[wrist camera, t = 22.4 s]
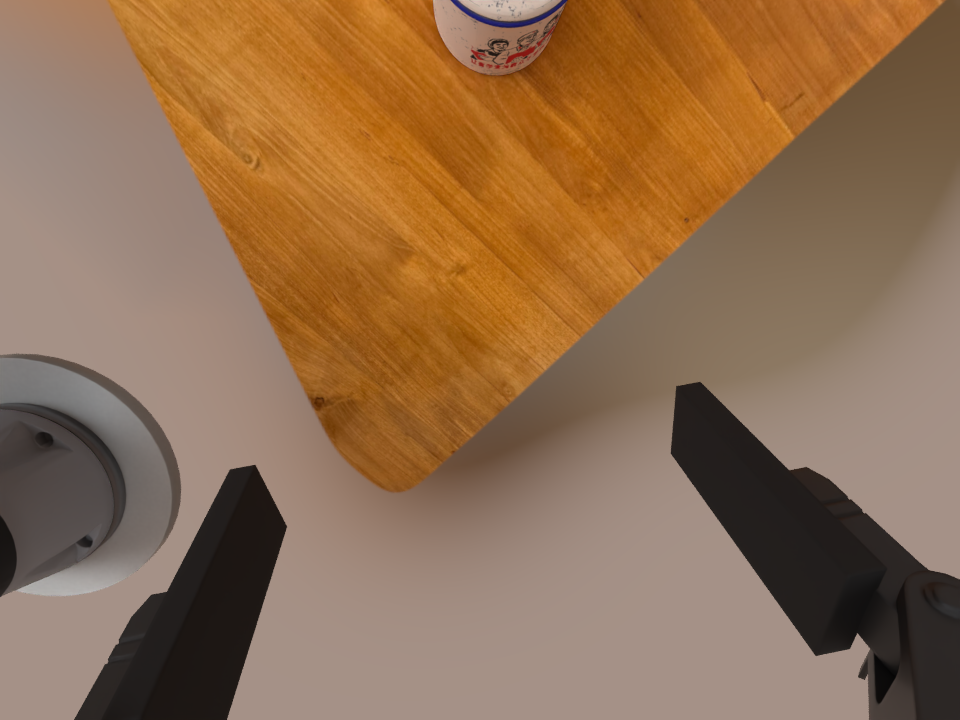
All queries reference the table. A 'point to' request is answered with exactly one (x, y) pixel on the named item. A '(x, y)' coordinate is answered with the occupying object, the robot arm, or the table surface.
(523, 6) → the teacup with lid
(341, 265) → the table surface
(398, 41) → the table surface
